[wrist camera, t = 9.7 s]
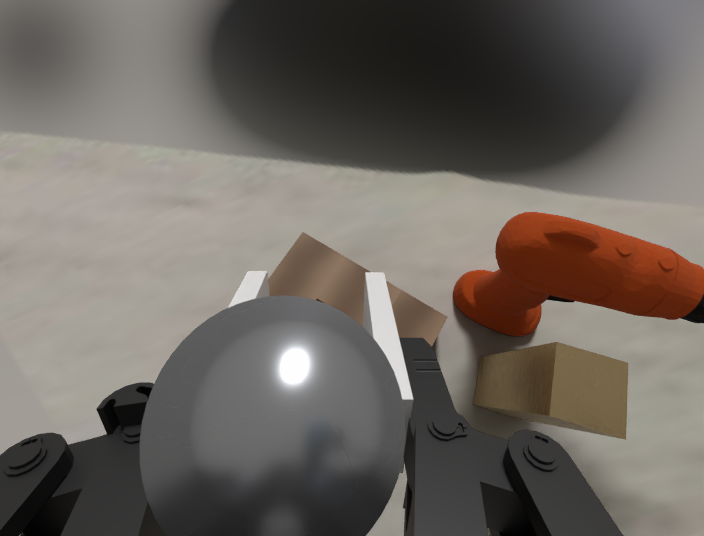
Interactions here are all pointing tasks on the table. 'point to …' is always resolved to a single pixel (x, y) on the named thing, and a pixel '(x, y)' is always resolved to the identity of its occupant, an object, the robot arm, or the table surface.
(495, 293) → the toy drill
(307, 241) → the socket block
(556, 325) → the table surface
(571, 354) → the light brown rectangular block
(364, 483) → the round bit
